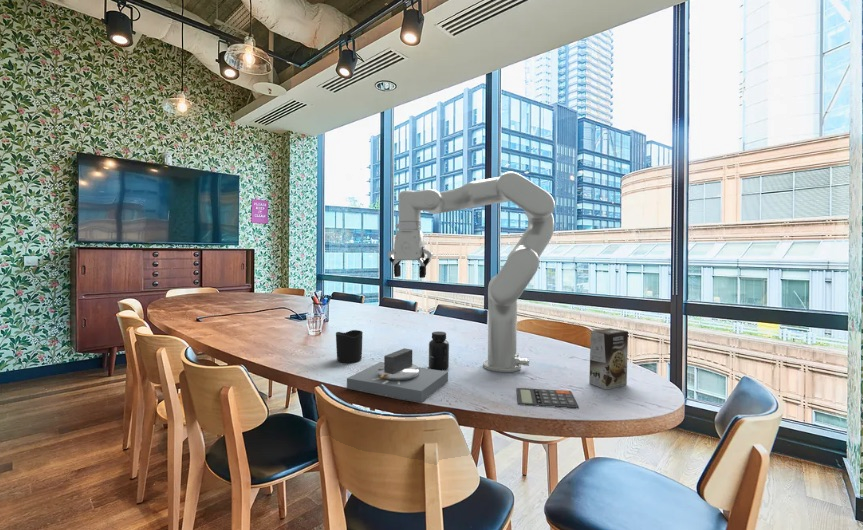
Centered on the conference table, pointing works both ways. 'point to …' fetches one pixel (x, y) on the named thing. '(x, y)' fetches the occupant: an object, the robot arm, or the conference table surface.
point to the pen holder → (349, 346)
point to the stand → (398, 383)
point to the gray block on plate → (398, 366)
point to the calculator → (546, 397)
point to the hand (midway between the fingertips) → (409, 277)
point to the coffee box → (608, 358)
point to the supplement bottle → (438, 351)
